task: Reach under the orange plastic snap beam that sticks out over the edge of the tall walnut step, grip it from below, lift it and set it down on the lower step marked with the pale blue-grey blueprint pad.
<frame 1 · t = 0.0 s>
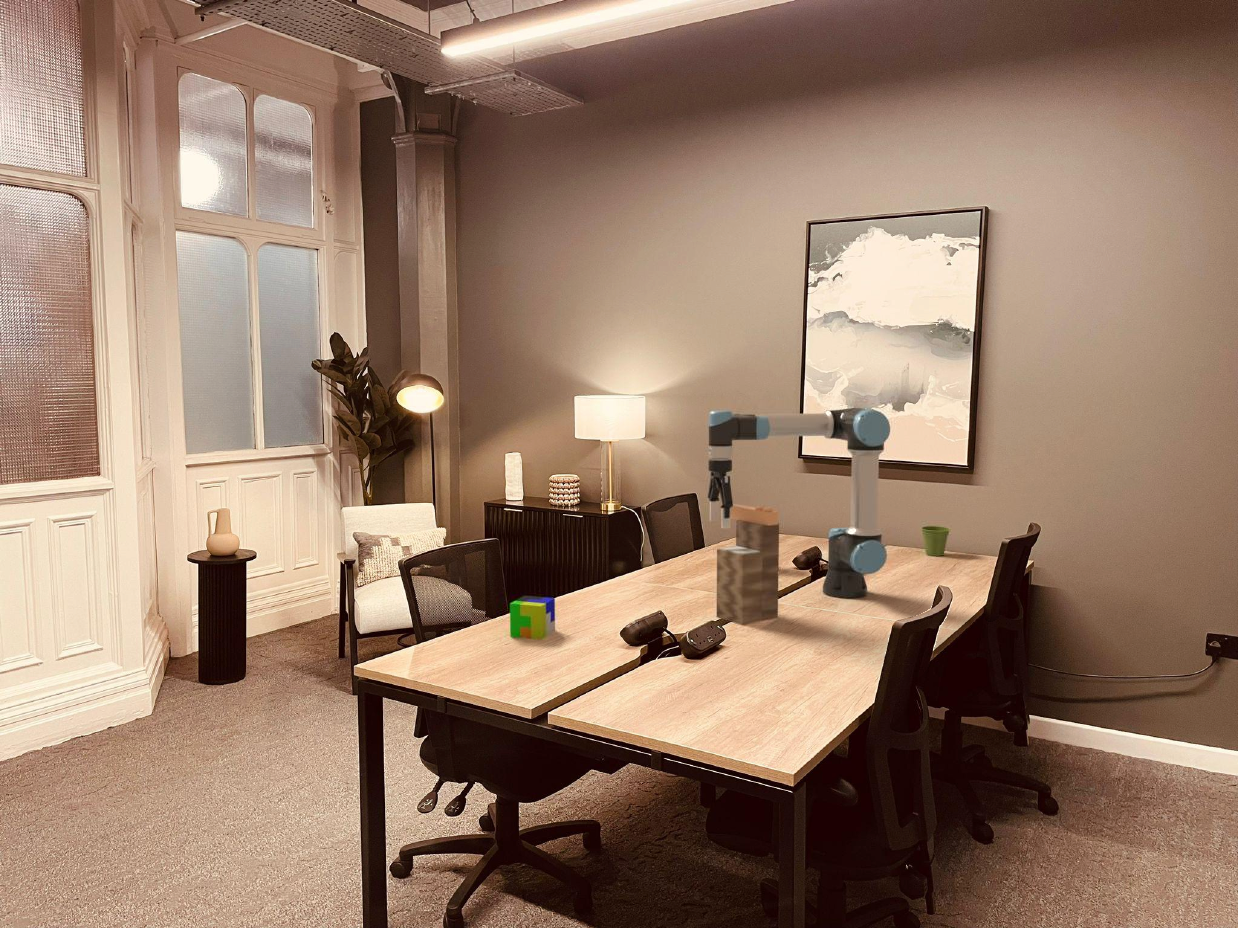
hand: (719, 524, 298), 28 cm above the table, tool pointing down, fingers open, 13 cm apart
puzzle toy: (533, 634, 275), on the table
step stand: (748, 616, 292), on the table
wooden block: (749, 568, 363), on the table
orange beam: (748, 520, 294), point 30 cm above the table, touching step stand
plant pot: (934, 555, 388), on the table
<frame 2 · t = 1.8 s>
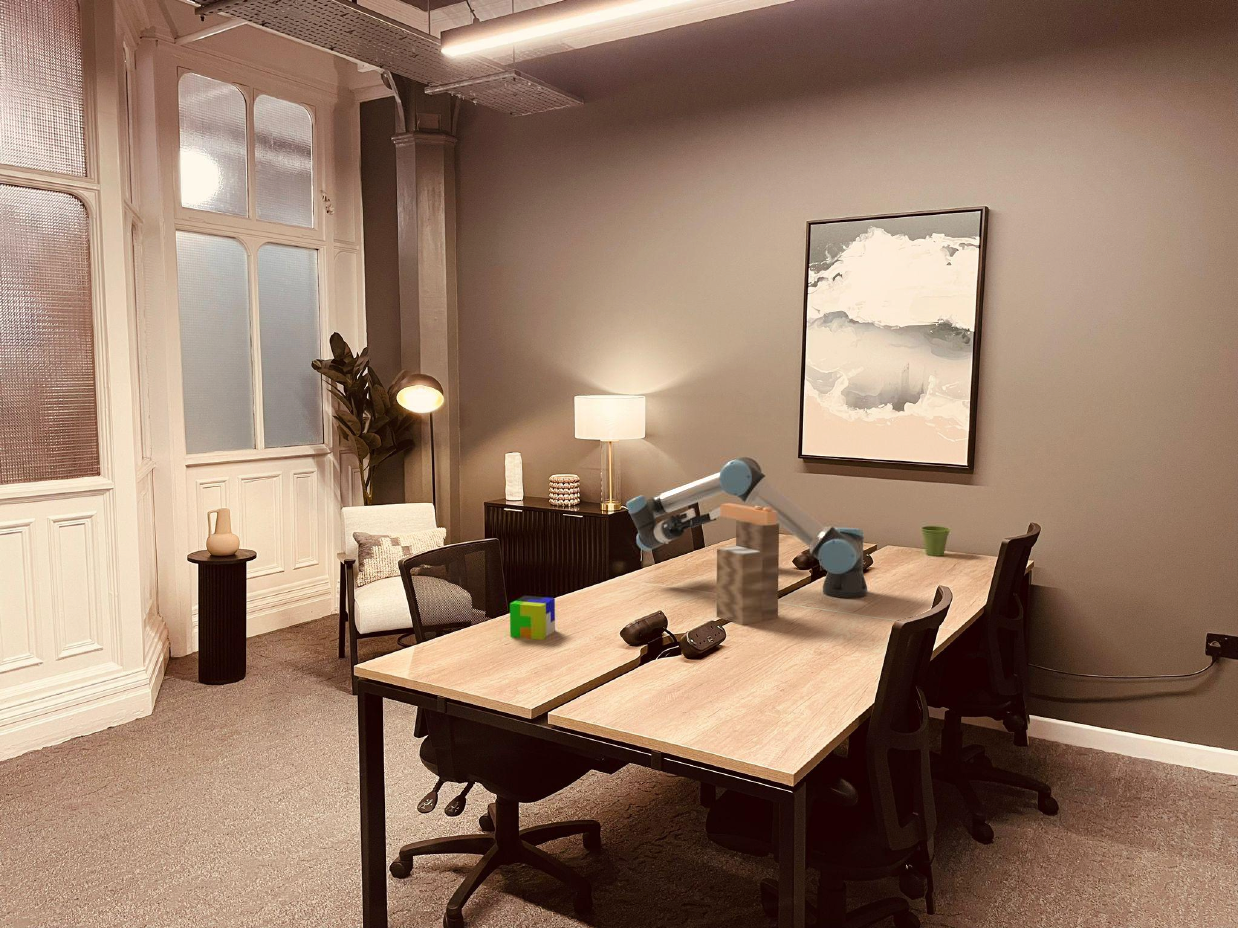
hand: (708, 511, 311), 30 cm above the table, tool pointing upward, fingers open, 13 cm apart
nothing on the table moved.
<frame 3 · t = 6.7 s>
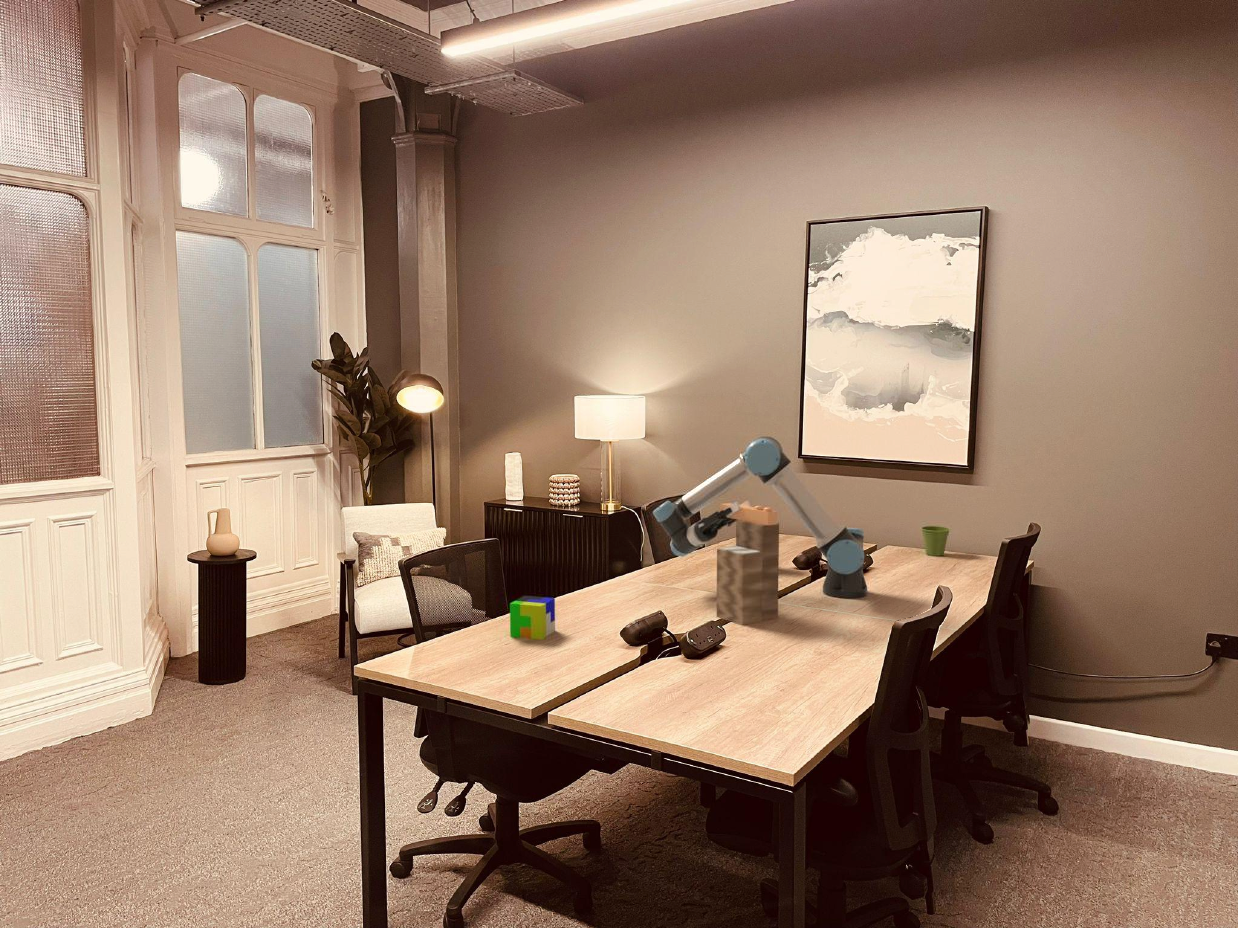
hand: (743, 504, 296), 35 cm above the table, tool pointing upward, fingers closed on orange beam, 4 cm apart
orange beam: (747, 520, 295), point 30 cm above the table, touching gripper, step stand
everything else where it was.
when the fingers open (28 cm above the table, at t = 12.2 s): orange beam drops 1 cm, resting on step stand.
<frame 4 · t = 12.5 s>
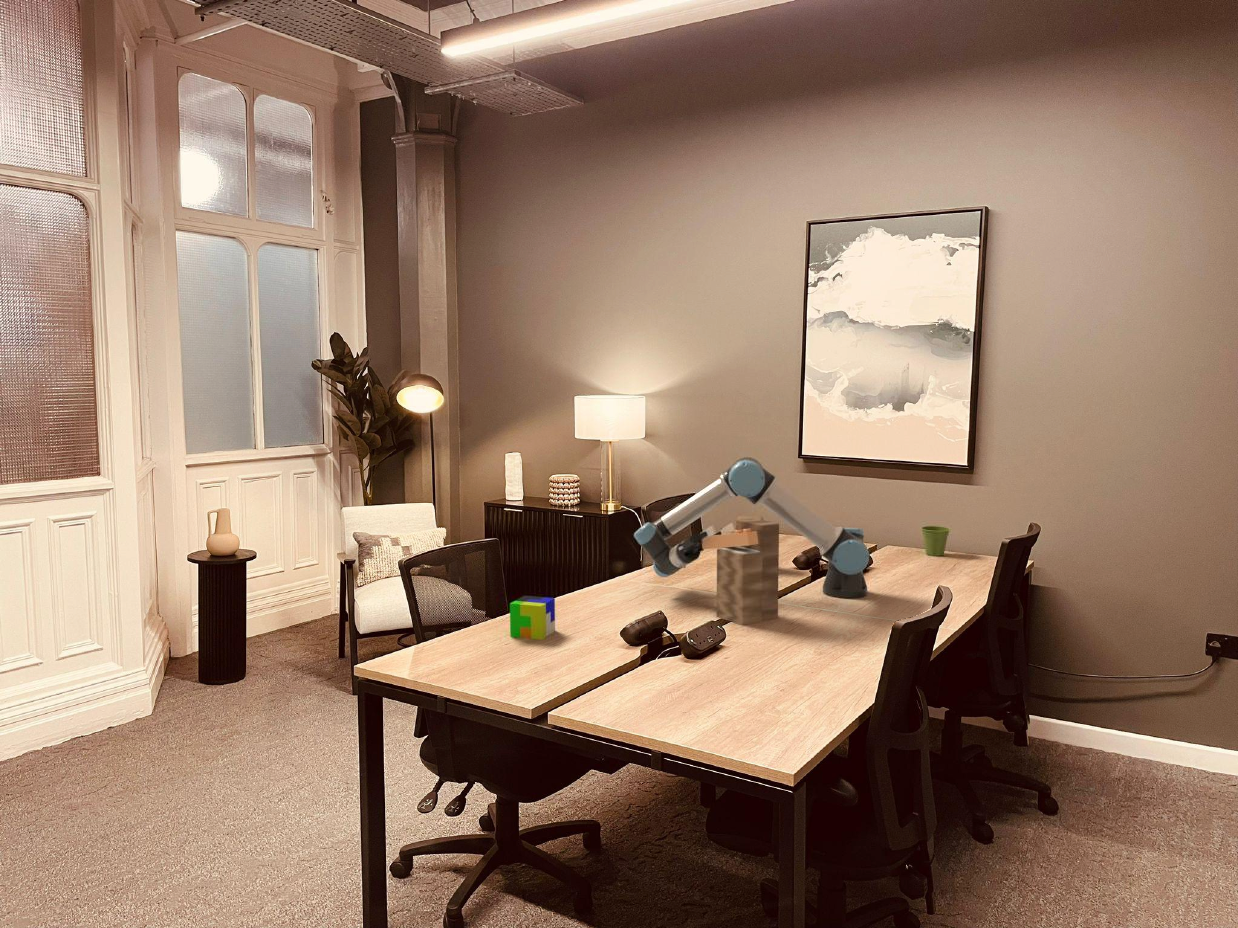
hand: (723, 527, 292), 28 cm above the table, tool pointing upward, fingers open, 8 cm apart
orange beam: (729, 546, 291), point 22 cm above the table, tilted 12°, touching step stand
everything else where it was.
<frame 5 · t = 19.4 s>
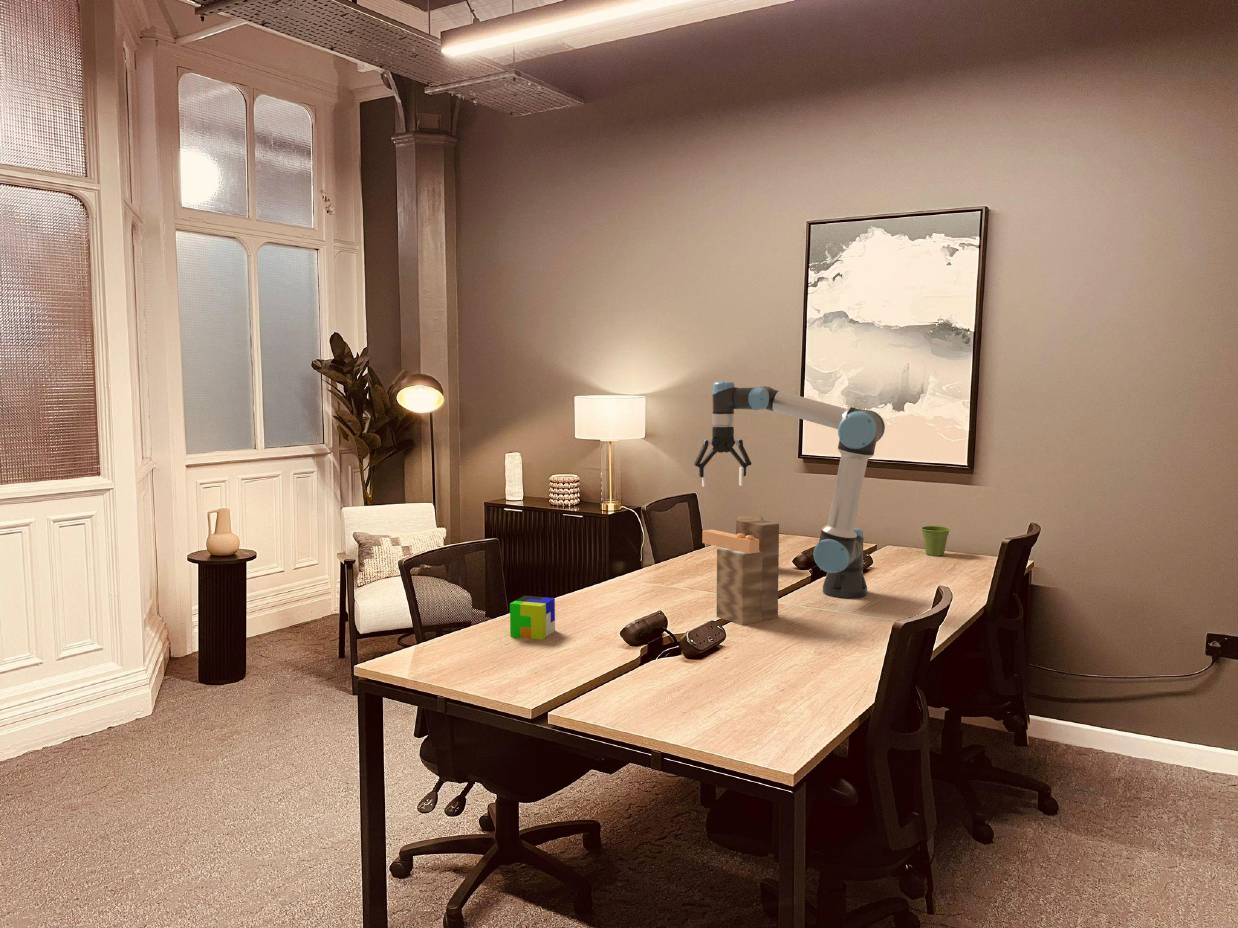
hand: (722, 486, 327), 37 cm above the table, tool pointing down, fingers open, 13 cm apart
orange beam: (729, 547, 291), point 22 cm above the table, touching step stand
everything else where it was.
at the end: orange beam inside the target area (0.5 cm from its centre), point 22.0 cm above the table; the gripper is holding nothing; orange beam tilted 0° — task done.
